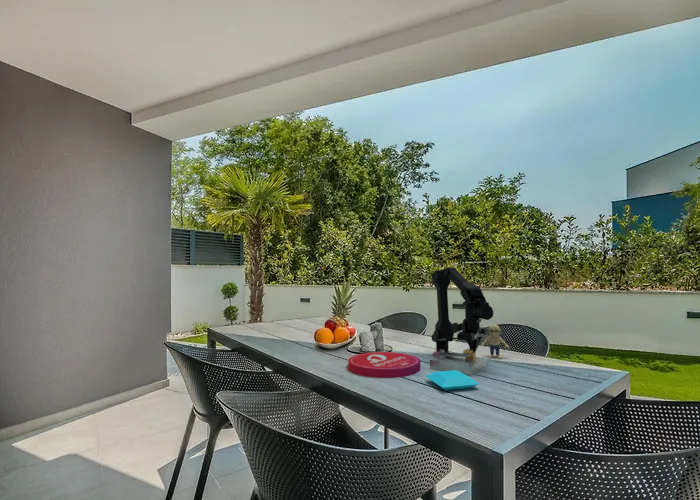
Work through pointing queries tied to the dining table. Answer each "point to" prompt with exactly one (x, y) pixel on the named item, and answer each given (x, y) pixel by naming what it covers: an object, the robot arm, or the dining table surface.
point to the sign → (384, 364)
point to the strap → (454, 354)
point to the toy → (494, 340)
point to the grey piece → (457, 363)
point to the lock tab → (470, 354)
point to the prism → (452, 380)
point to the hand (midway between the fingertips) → (473, 354)
